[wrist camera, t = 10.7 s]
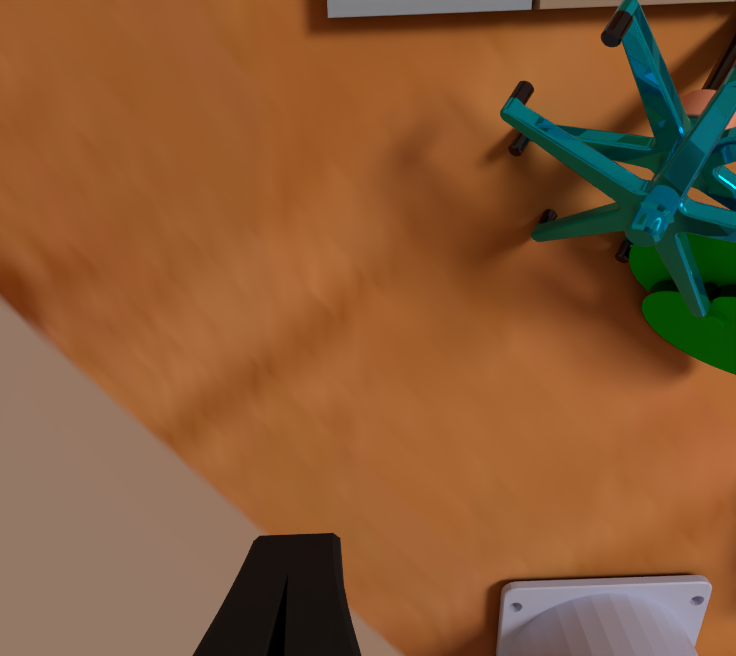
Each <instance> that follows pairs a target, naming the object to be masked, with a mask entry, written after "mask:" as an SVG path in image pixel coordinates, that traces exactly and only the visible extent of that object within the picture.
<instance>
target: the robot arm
mask: <svg viewBox="0 0 736 656" xmlns="http://www.w3.org/2000/svg"><path fill="white" fill-rule="evenodd" d="M711 592H712V586H711V584H710V583H709V581H708V580H707V578H706V577H704V576H702V575H680V576H653V577H626V578H599V579H571V580H544V581H517V582H510V583H508V584H506V585H505V586H504V587H503V588H502V591H501V602H500V613H499V625H498V636H497V647H496V656H699V655H698V654H697V652H696V650H695V648H694V647H695V644H696V641H697V637H698V634H699V631H700V628H701V624H702V621H703V618H704V615H705V611H706V608H707V605H708V602H709V598H710V595H711ZM193 656H361V653H360V649H359V645H358V642H357V639H356V635H355V631H354V628H353V625H352V620H351V616H350V612H349V608H348V603H347V599H346V594H345V589H344V581H343V568H342V555H341V542H340V538H339V537H338V536H336V535H335V534H334V533H322V534H295V535H268V536H259V537H258V538H257V539H256V540H254V541H253V544H252V546H251V548H250V550H249V553H248V555H247V557H246V559H245V561H244V563H243V565H242V567H241V570H240V572H239V574H238V575H237V577H236V579H235V581H234V583H233V585H232V587H231V589H230V591H229V593H228V595H227V596H226V598H225V600H224V602H223V604H222V606H221V608H220V609H219V611H218V613H217V615H216V616H215V618H214V620H213V622H212V623H211V625H210V627H209V628H208V630H207V632H206V633H205V635H204V637H203V639H202V640H201V642H200V644H199V646H198V647H197V649H196V651H195V653H194V654H193Z"/></svg>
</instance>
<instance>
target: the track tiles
mask: <svg viewBox="0 0 736 656" xmlns="http://www.w3.org/2000/svg"><path fill="white" fill-rule="evenodd" d="M622 1H623V0H534V6H533V10H541V9H566V8H590V7H615V6H619V5H620V3H621V2H622ZM637 1H638V2H639V3H640V5H664V4H688V3H713V2H734V1H736V0H637ZM531 7H532V0H327V8H328V18H345V17H370V16H394V15H419V14H443V13H468V12H492V11H517V10H531Z"/></svg>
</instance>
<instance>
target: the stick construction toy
mask: <svg viewBox="0 0 736 656" xmlns="http://www.w3.org/2000/svg"><path fill="white" fill-rule="evenodd" d="M601 41H602V42H603V43H604V44H605V45H606V46H608V47H617V46H618V45H619V44H620V43H621V41H622V44H623V47H624V49H625V52H626V55H627V58H628V61H629V64H630V67H631V70H632V73H633V76H634V79H635V82H636V85H637V88H638V91H639V93H640V96H641V99H642V102H643V105H644V108H645V111H646V114H647V117H648V120H649V123H650V126H651V129H652V132H653V134H654V137H646V136H639V135H631V134H624V133H616V132H609V131H601V130H593V129H586V128H578V127H571V126H563V125H556V124H553V123H552V122H550V121H549V120H547V119H545V118H544V117H542V116H541V115H539V114H537V113H536V112H534V111H533V110H531V109H530V108H528V107H526V106H525V105H526V103H527V101H528V100H529V98H530V97H531V95H532V94H533V92H534V88H533V86H532V84H531V83H530V82H528V81H520V82H519V83H518V85H517V86H516V88H515V89H514V91H513V92H512V94H511V96H510V97H509V99H508V100H507V102H506V103H505V105H504V106H503V108H502V109H501V111H500V116H501V118H502V119H503V120H504V121H505V122H507V123H508V124H510V125H511V126H512V127H514V128H515V129H516V130H518V133H517V134H516V136H515V138H514V139H513V141H512V142H511V144H510V146H509V147H508V150H509V152H510V153H511V154H512V155H514V156H520V155H521V154H522V153H523V151H524V150H525V148H526V147H527V145H528V143H529V142H530V141H531V142H534V143H536V144H537V145H539V146H540V147H541V148H543V149H544V150H545V151H547V152H548V153H550V154H551V155H552V156H554V157H555V158H556V159H558V160H559V161H561V162H562V163H563V164H565V165H566V166H568V167H569V168H570V169H572V170H573V171H574V172H576V173H577V174H579V175H580V176H581V177H583V178H584V179H585V180H587V181H588V182H590V183H591V184H592V185H594V186H595V187H597V188H598V189H599V190H601V191H602V192H603V193H605V194H606V195H608V196H609V197H610V198H612V199H613V200H614V201H616V202H615V203H612V204H608V205H605V206H601V207H598V208H594V209H591V210H587V211H584V212H580V213H577V214H573V215H570V216H567V217H563V218H560V219H556V218H557V214H556V212H555V211H553V210H551V209H547V210H545V212H544V213H543V215H542V216H541V218H540V220H539V221H538V223H537V225H536V226H535V228H534V230H533V231H532V233H531V237H532V239H533V240H535V241H537V242H544V241H551V240H559V239H566V238H574V237H581V236H589V235H596V234H604V233H611V232H619V231H624V232H625V235H626V236H625V239H624V241H623V242H622V244H621V246H620V248H619V250H618V252H617V253H616V255H615V258H616V260H617V261H619V262H621V263H627V262H628V261H629V262H630V267H631V270H632V272H633V274H634V276H635V277H636V279H637V280H638V282H639V283H640V284H641V285H642V286H643V287H644V288H645V289H646V290H647V291H648V293H647V295H646V297H645V298H644V300H643V303H642V312H643V315H644V317H645V319H646V320H647V322H648V323H649V325H650V326H651V327H652V328H653V329H654V330H655V331H656V332H657V333H658V334H659V335H660V336H661V337H663V338H664V339H665V340H667V341H668V342H669V343H671V344H672V345H674V346H675V347H677V348H678V349H680V350H682V351H683V352H685V353H687V354H689V355H690V356H692V357H694V358H696V359H698V360H700V361H702V362H704V363H707V364H709V365H711V366H714V367H716V368H719V369H721V370H724V371H727V372H729V373H732V374H735V375H736V174H734V173H733V172H732V171H730V170H729V169H728V168H726V167H725V166H724V165H726V164H729V163H732V162H736V27H735V29H734V31H733V33H732V35H731V36H730V38H729V40H728V42H727V44H726V45H725V47H724V49H723V51H722V53H721V54H720V56H719V58H718V60H717V62H716V64H715V65H714V67H713V69H712V71H711V73H710V74H709V76H708V78H707V80H706V82H705V84H704V85H703V87H702V89H701V90H696V91H692V92H690V93H688V94H686V95H685V96H683V97H682V98H681V99H680V97H679V95H678V93H677V90H676V88H675V86H674V83H673V81H672V79H671V76H670V74H669V71H668V69H667V67H666V64H665V62H664V60H663V57H662V55H661V53H660V50H659V48H658V46H657V43H656V41H655V38H654V36H653V34H652V31H651V29H650V27H649V24H648V22H647V20H646V17H645V15H644V13H643V10H642V8H641V6H640V3H639V2H638V1H637V0H623V1H622V2H621V3H620V5H619V7H618V8H617V10H616V11H615V13H614V15H613V16H612V18H611V19H610V21H609V23H608V24H607V26H606V28H605V29H604V31H603V32H602V34H601ZM612 160H614V161H618V162H623V163H627V164H631V165H636V166H640V167H645V168H648V169H650V170H651V171H652V172H653V173H654V176H653V178H652V180H643V179H641V178H639V177H637V176H636V175H634V174H633V173H631V172H629V171H628V170H626V169H625V168H623V167H621V166H620V165H618V164H617V163H615V162H614V161H612ZM691 187H693V188H696V189H698V190H700V191H701V192H703V193H705V194H706V195H708V196H709V197H711V198H712V199H714V200H716V201H717V202H719V203H720V204H722V205H724V206H725V207H727V208H728V209H730V210H728V209H724V208H720V207H716V206H712V205H707V204H703V203H699V202H696V201H694V200H692V199H690V198H689V197H688V195H687V193H688V191H689V189H690V188H691Z"/></svg>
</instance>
